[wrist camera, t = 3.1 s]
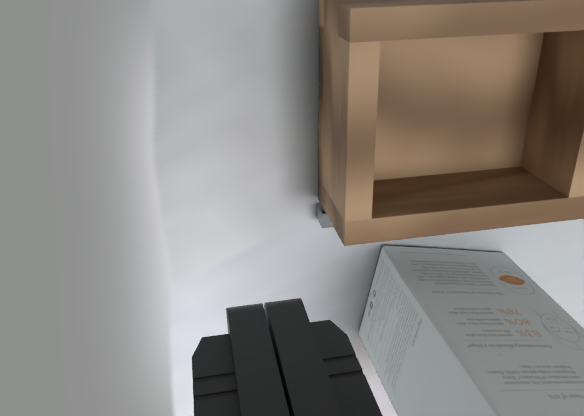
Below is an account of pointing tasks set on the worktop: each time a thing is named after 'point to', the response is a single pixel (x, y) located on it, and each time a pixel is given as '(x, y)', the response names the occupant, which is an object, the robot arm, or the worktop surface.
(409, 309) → the small box
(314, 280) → the worktop surface
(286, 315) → the robot arm
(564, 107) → the socket block
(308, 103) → the worktop surface
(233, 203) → the worktop surface
